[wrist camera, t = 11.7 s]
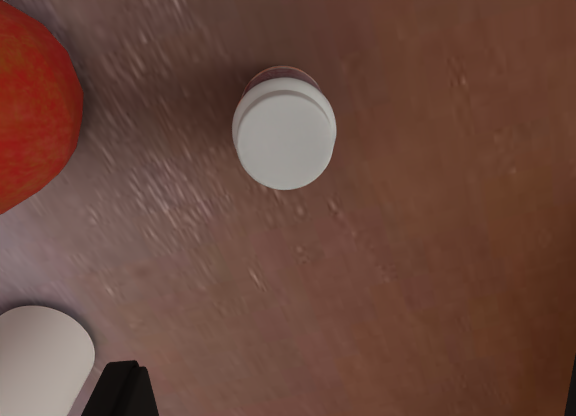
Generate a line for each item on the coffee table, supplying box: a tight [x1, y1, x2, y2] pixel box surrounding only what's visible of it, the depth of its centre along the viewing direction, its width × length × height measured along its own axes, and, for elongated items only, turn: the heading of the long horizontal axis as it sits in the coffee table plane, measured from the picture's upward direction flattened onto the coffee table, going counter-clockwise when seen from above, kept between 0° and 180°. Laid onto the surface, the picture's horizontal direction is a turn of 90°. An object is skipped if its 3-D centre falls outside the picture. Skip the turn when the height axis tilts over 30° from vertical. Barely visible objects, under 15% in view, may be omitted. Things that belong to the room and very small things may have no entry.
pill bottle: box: [232, 66, 336, 190], centre depth 23 cm, size 5×5×8 cm
